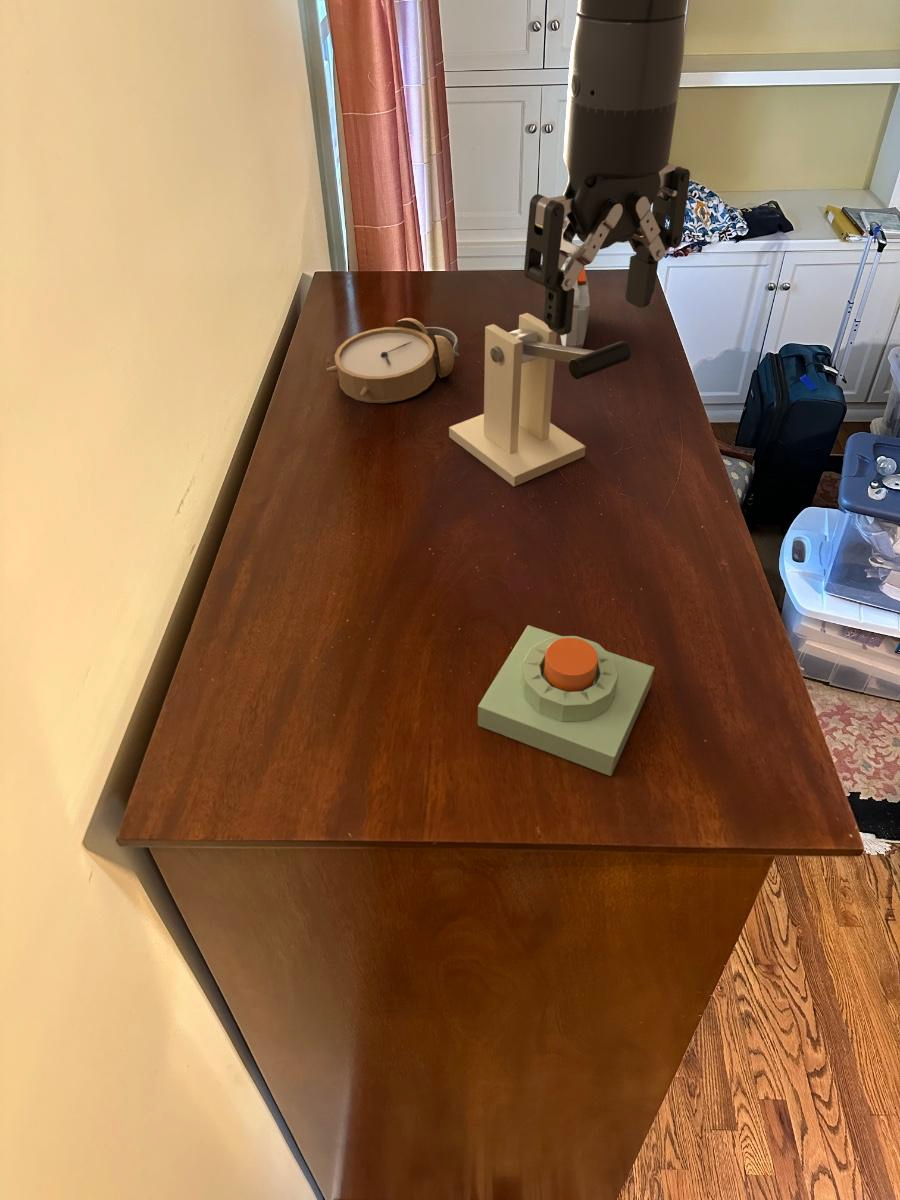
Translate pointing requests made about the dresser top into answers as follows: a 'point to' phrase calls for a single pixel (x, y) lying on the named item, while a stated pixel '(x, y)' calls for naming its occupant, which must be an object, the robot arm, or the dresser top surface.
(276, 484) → the dresser top surface
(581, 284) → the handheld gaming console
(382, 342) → the alarm clock
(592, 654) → the button
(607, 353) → the lever
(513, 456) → the bracket
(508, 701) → the button block
